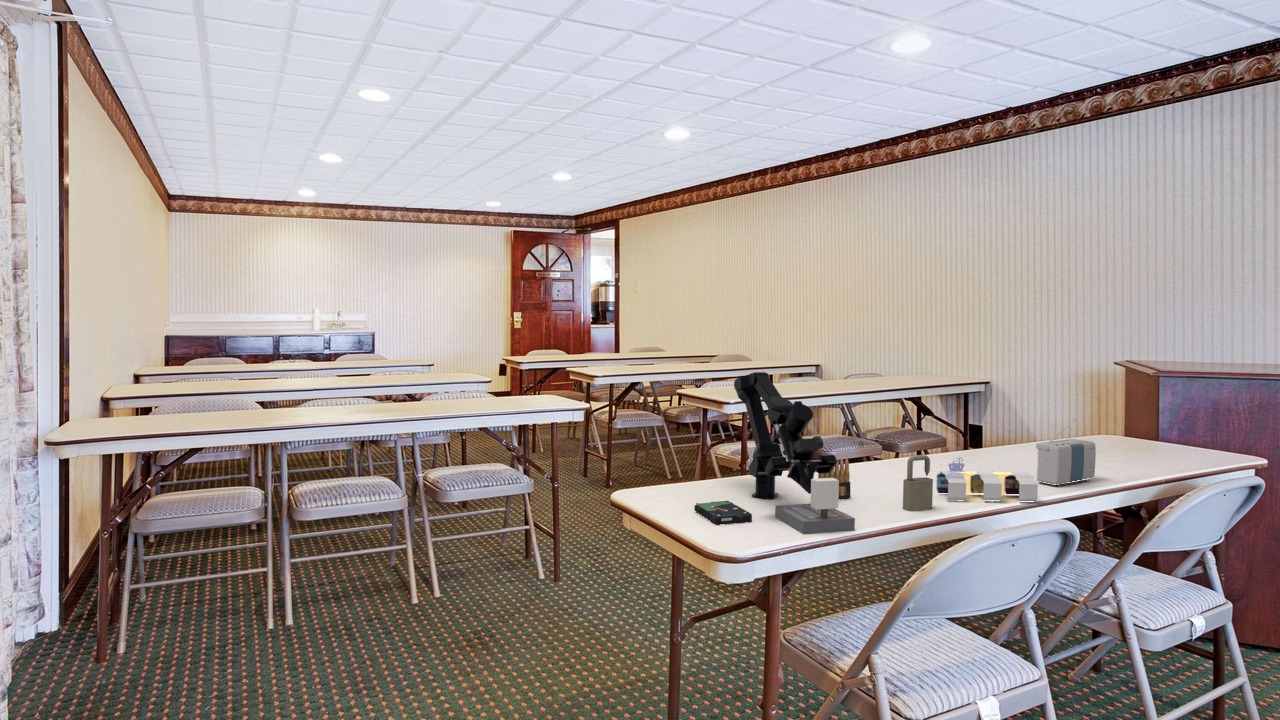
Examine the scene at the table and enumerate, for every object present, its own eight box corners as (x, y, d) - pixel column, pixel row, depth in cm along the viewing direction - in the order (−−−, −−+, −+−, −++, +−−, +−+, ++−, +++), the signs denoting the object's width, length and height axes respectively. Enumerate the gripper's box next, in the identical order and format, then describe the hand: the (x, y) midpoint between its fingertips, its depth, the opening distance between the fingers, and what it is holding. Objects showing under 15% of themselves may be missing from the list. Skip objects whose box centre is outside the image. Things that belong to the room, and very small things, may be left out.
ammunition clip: (846, 497, 219) (847, 457, 218) (850, 498, 217) (851, 458, 216) (816, 500, 215) (816, 459, 214) (819, 501, 213) (820, 460, 212)
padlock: (934, 509, 206) (935, 455, 205) (910, 511, 203) (912, 457, 202) (924, 505, 209) (925, 453, 208) (900, 508, 206) (902, 454, 206)
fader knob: (810, 515, 186) (811, 478, 185) (832, 513, 187) (832, 477, 187) (816, 518, 183) (816, 481, 182) (838, 516, 184) (838, 480, 184)
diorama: (947, 503, 214) (949, 458, 213) (935, 494, 224) (937, 451, 224) (1037, 505, 212) (1038, 459, 212) (1020, 496, 223) (1022, 453, 222)
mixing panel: (775, 516, 196) (775, 505, 196) (822, 513, 200) (823, 502, 200) (803, 533, 181) (803, 521, 181) (854, 530, 185) (854, 517, 184)
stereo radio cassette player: (1057, 488, 233) (1059, 425, 231) (1032, 483, 240) (1034, 421, 239) (1095, 481, 243) (1098, 421, 242) (1070, 476, 250) (1073, 417, 249)
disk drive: (752, 524, 192) (727, 509, 205) (753, 513, 191) (727, 499, 205) (716, 527, 188) (693, 512, 202) (716, 517, 188) (693, 502, 202)
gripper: (770, 426, 193) (788, 478, 183) (835, 424, 198) (856, 474, 188) (757, 450, 201) (774, 501, 192) (820, 448, 206) (839, 497, 196)
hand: (811, 493), depth 192 cm, fingers closed
